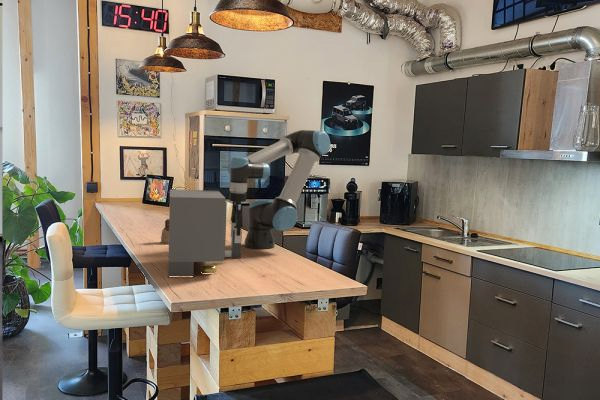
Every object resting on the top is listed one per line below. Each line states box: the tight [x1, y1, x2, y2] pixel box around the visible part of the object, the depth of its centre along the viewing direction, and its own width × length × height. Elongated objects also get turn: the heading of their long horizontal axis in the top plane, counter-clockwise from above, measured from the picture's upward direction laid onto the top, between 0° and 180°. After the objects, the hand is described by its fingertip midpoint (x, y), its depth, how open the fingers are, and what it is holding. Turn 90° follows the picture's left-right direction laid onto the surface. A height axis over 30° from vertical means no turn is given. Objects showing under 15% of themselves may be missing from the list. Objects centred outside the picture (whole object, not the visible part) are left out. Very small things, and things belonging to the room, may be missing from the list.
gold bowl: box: [200, 263, 217, 273], centre depth 190 cm, size 6×6×3 cm
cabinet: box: [167, 189, 228, 277], centre depth 196 cm, size 22×28×30 cm
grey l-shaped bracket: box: [225, 230, 243, 259], centre depth 217 cm, size 20×4×12 cm, turn 105°
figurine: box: [160, 218, 169, 245], centre depth 242 cm, size 7×7×12 cm
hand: (235, 240), depth 218 cm, fingers open, 13 cm apart
